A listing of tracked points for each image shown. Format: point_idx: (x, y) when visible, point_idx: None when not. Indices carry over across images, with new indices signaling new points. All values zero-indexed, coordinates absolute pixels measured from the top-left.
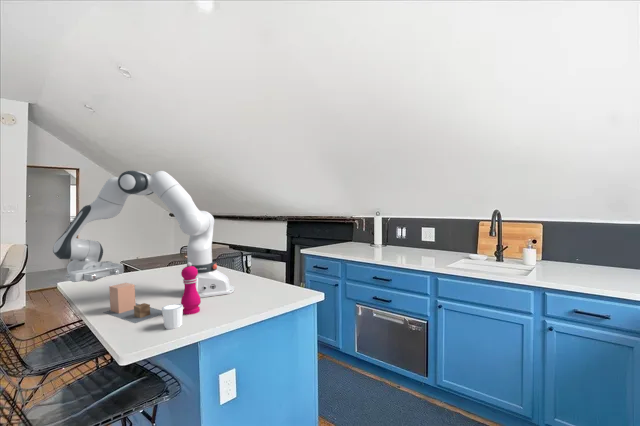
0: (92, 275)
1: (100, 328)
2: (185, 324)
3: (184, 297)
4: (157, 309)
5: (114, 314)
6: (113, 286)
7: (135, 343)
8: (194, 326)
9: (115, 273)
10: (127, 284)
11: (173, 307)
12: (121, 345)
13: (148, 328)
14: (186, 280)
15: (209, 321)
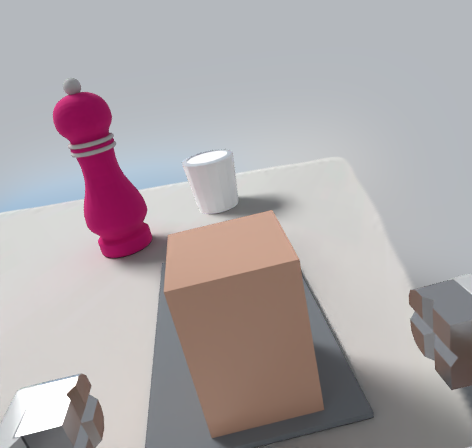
0: (452, 278)
1: (385, 249)
2: (196, 204)
3: (134, 187)
4: (161, 298)
5: (317, 336)
6: (275, 247)
7: (316, 175)
8: (192, 194)
9: (96, 407)
10: (190, 249)
11: (208, 155)
12: (341, 175)
13: (265, 211)
14: (111, 133)
15: (156, 201)
